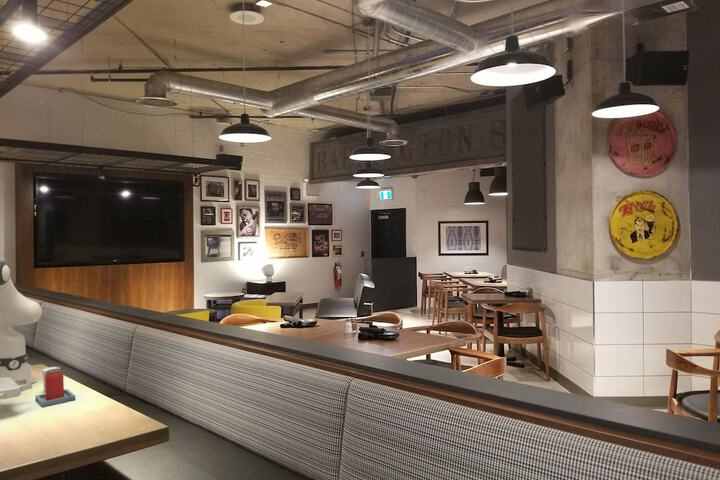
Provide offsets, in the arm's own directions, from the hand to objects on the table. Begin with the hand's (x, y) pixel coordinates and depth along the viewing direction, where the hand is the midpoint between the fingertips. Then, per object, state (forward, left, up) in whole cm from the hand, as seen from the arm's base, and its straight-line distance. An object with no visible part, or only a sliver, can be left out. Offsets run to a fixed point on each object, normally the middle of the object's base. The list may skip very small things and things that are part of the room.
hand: (29, 383), depth 209 cm
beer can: (0, +9, -9) cm, 13 cm away
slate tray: (0, +9, -9) cm, 13 cm away
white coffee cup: (-15, +11, -9) cm, 21 cm away
